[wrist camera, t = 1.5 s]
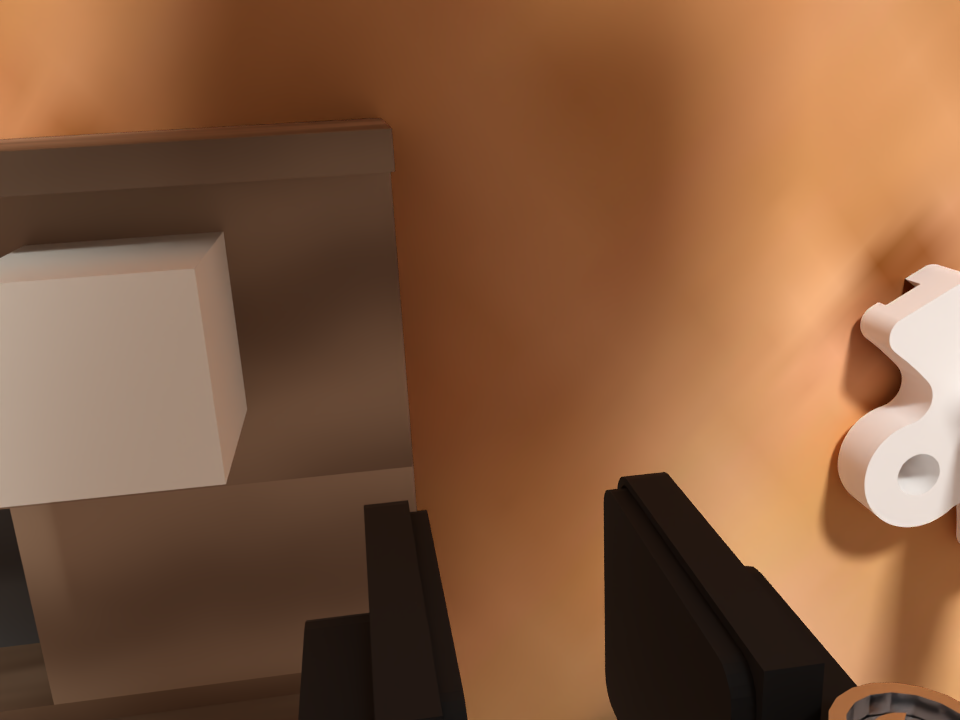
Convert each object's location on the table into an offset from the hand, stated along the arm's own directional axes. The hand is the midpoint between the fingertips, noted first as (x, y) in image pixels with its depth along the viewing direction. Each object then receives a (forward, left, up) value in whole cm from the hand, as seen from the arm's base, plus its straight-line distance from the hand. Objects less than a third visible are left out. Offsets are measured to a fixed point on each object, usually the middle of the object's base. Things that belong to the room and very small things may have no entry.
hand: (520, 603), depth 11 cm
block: (0, -8, -15) cm, 17 cm away
